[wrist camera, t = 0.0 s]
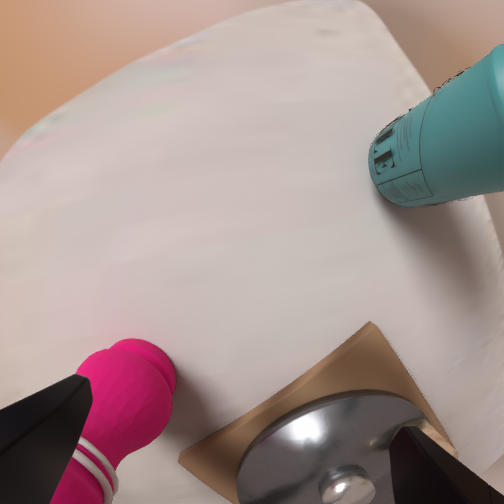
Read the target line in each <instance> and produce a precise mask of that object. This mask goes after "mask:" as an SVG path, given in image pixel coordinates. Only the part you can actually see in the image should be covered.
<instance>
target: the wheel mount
mask: <svg viewBox="0 0 504 504" xmlns="http://www.w3.org/2000/svg"><path fill="white" fill-rule="evenodd" d="M361 389H375V390H383V391H389V392H392V393H396V394H399V395H401V396H403V397H405V398H407V399H408V400H410V401H411V402H412V403H413V404H415V405H416V406H417V407H418V408H419V409H420V410H421V411H422V412H423V413H424V415H425V416H426V417H427V418H428V419H429V421H430V423H431V425H432V427H433V428H434V429H435V430H436V431H437V432H438V433H439V434H440V435H441V436H442V437H443V438H444V439H445V440H446V441H447V442H448V443H449V444H450V445H451V446H452V447H453V448H454V449H455V447H454V446H453V444H452V442H451V441H450V439H449V437H448V435H447V434H446V432H445V430H444V429H443V427H442V425H441V424H440V422H439V421H438V419H437V417H436V416H435V414H434V412H433V411H432V409H431V408H430V406H429V404H428V403H427V401H426V400H425V398H424V396H423V395H422V393H421V392H420V390H419V389H418V387H417V385H416V384H415V382H414V381H413V379H412V378H411V376H410V375H409V373H408V372H407V370H406V368H405V367H404V365H403V364H402V362H401V361H400V359H399V358H398V356H397V355H396V353H395V352H394V350H393V349H392V348H391V346H390V345H389V343H388V342H387V340H386V339H385V337H384V336H383V334H382V333H381V331H380V330H379V329H378V327H377V326H376V325H374V324H373V323H372V322H370V321H369V322H368V323H367V324H366V325H364V326H363V327H362V328H361V329H360V330H358V331H357V332H356V333H355V334H354V335H353V336H351V337H350V338H349V339H348V340H347V341H345V342H344V343H343V344H342V345H340V346H339V347H338V348H337V349H335V350H334V351H333V352H332V353H330V354H329V355H328V356H327V357H325V358H324V359H323V360H321V361H320V362H319V363H318V364H316V365H315V366H314V367H312V368H311V369H310V370H308V371H307V372H306V373H304V374H303V375H302V376H300V377H299V378H297V379H296V380H295V381H293V382H292V383H291V384H289V385H288V386H286V387H285V388H284V389H282V390H281V391H279V392H278V393H276V394H275V395H273V396H272V397H271V398H269V399H268V400H266V401H265V402H263V403H262V404H260V405H259V406H257V407H256V408H254V409H253V410H251V411H249V412H248V413H246V414H245V415H243V416H242V417H240V418H239V419H237V420H235V421H234V422H232V423H230V424H229V425H227V426H226V427H224V428H222V429H221V430H219V431H217V432H216V433H214V434H212V435H210V436H209V437H207V438H205V439H204V440H202V441H200V442H198V443H196V444H195V445H193V446H191V447H189V448H187V449H186V450H184V451H182V452H180V456H179V459H178V463H179V464H181V465H182V466H183V467H184V468H186V469H187V470H188V471H189V472H191V473H192V474H193V475H194V476H196V477H197V478H198V479H199V480H201V481H202V482H203V483H205V484H206V485H207V486H209V487H210V488H212V489H213V490H214V491H216V492H217V493H218V494H220V495H221V496H223V497H224V498H226V499H227V500H229V501H230V502H231V503H233V504H240V503H239V500H238V496H237V471H238V466H239V462H240V460H241V458H242V456H243V453H244V452H245V450H246V449H247V447H248V446H249V444H250V443H251V442H252V441H253V440H254V438H255V437H256V436H257V435H258V434H259V433H260V432H261V431H262V430H263V429H265V428H266V427H267V426H268V425H269V424H271V423H272V422H273V421H275V420H276V419H278V418H279V417H280V416H282V415H284V414H286V413H287V412H289V411H291V410H292V409H294V408H297V407H299V406H301V405H303V404H305V403H307V402H310V401H312V400H315V399H318V398H320V397H324V396H327V395H331V394H334V393H339V392H344V391H350V390H361Z"/></svg>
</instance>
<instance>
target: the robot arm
mask: <svg viewBox="0 0 504 504" xmlns="http://www.w3.org/2000/svg"><path fill="white" fill-rule="evenodd" d="M92 403H93V395H92V389H91V382H90V379H89V378H88V377H85V376H83V375H80V374H73V375H71V376H69V377H67V378H65V379H63V380H61V381H59V382H57V383H55V384H53V385H51V386H49V387H47V388H45V389H43V390H41V391H39V392H36V393H34V394H32V395H30V396H28V397H26V398H24V399H22V400H20V401H18V402H15V403H13V404H11V405H9V406H7V407H5V408H3V409H1V410H0V504H50V502H51V500H52V497H53V495H54V493H55V491H56V489H57V487H58V484H59V482H60V480H61V478H62V476H63V474H64V472H65V470H66V468H67V466H68V464H69V462H70V460H71V458H72V456H73V454H74V451H75V449H76V447H77V445H78V442H79V439H80V436H81V434H82V431H83V428H84V425H85V423H86V420H87V417H88V414H89V412H90V409H91V407H92ZM389 456H390V466H391V479H392V489H393V496H394V501H395V504H504V496H503V495H502V494H501V493H499V492H498V491H496V490H495V489H494V488H493V487H491V486H490V485H488V483H486V482H485V481H484V480H482V479H481V478H480V477H479V476H477V475H476V474H475V473H474V472H472V471H471V470H470V469H468V468H467V467H466V466H465V465H463V464H462V463H461V462H460V461H458V460H457V459H456V458H455V457H453V456H452V455H451V454H450V453H448V452H447V451H446V450H445V449H444V448H442V447H441V446H440V445H439V444H437V443H436V442H435V441H434V440H432V439H431V438H430V437H429V436H428V435H426V434H425V433H424V432H423V431H421V430H420V429H419V428H418V427H417V426H415V425H404V426H402V427H401V428H400V429H399V431H398V432H397V434H396V435H395V436H394V438H393V439H392V441H391V442H390V445H389Z"/></svg>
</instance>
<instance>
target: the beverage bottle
mask: <svg viewBox="0 0 504 504" xmlns="http://www.w3.org/2000/svg"><path fill="white" fill-rule="evenodd" d="M463 72H464V71H463ZM463 72H461V73H459V74H460V75H459V74H458V75H456V76H457V77H456V78H454V79H453V80H451V81H450V82H449V81H448V82H449V83H447V84H446V85H444V86H443V87H442V88H440V87H438V88H440V89H438V91H436V92H435V93H434V92H433V94H432V95H431V96H430V97H428V98H427V99H426V100H424V101H423V102H421V103H420V104H419V105H417V106H416V107H415V108H413V109H412V108H411V109H412V110H411V109H409V112H408V113H407V114H405V115H403V116H401V117H400V116H399V117H400V118H398V117H397V118H398V119H399V120H398V119H397V118H396V119H395V120H393V122H395V121H396V120H397V121H396V122H395V123H393V122H391V123H392V125H391V126H390V124H391V123H390V124H388V125H387V127H388V126H389V127H388V128H387V127H385V128H384V129H383V130H382V131H381V132H380V133H379V135H378V136H377V137H375V138H376V139H375V140H374V142H373V144H372V143H371V144H372V146H370V147H371V149H370V150H369V152H370V153H369V171H370V175H371V178H372V180H373V182H374V184H375V186H376V187H377V189H378V190H379V192H380V193H381V194H382V195H383V196H384V197H385V198H387V199H388V200H389V201H390V202H393V204H394V203H395V204H397V205H400V206H404V207H416V206H422V205H427V207H428V204H430V205H431V204H433V205H434V203H439V204H440V202H445V201H446V202H445V203H447V201H451V200H454V201H455V200H457V199H459V201H460V199H461V198H462V199H463V198H465V199H466V197H467V198H468V197H470V196H474V197H475V196H477V195H482V194H489V193H495V192H502V191H504V44H500V45H498V46H496V47H495V48H494V49H493V50H492V51H491V52H490V54H488V55H487V56H485V57H484V58H483V59H481V60H480V61H479V62H477V63H476V64H475V65H473V66H472V67H469V69H468V70H466V71H465V72H464V73H463ZM386 128H387V129H386ZM472 198H473V197H472ZM470 199H471V198H470ZM467 200H468V199H467ZM457 201H458V200H457ZM464 201H465V200H464ZM451 202H453V201H451ZM445 203H444V204H445ZM454 203H455V202H454ZM441 204H442V203H441ZM448 204H449V203H448ZM433 205H432V206H433ZM435 206H436V205H435Z"/></svg>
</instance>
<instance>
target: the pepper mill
mask: <svg viewBox="0 0 504 504" xmlns="http://www.w3.org/2000/svg"><path fill="white" fill-rule="evenodd" d="M76 374H80V375H83V376H85V377H88V378H89V379H90V382H91V389H92V395H93V403H92V407H91V409H90V412H89V414H88V417H87V420H86V423H85V425H84V428H83V431H82V434H81V436H80V439H79V442H78V445H77V447H76V449H75V451H74V454H73V456H72V458H71V460H70V462H69V464H68V466H67V468H66V470H65V472H64V474H63V476H62V478H61V480H60V482H59V484H58V487H57V489H56V491H55V493H54V495H53V497H52V500H51V502H50V504H111V503H112V500H113V496H114V495H115V494H116V492H117V490H118V478H117V475H116V472H115V471H116V468H117V466H118V465H119V463H120V462H121V460H122V459H123V458H124V457H126V456H127V455H128V454H130V453H132V452H134V451H136V450H138V449H140V448H143V447H144V446H146V445H148V444H149V443H151V442H152V441H153V440H154V439H155V438H157V437H158V436H159V435H160V434H161V432H162V431H163V430H164V428H165V427H166V425H167V423H168V422H169V419H170V417H171V413H172V395H173V393H174V390H175V387H176V374H175V370H174V367H173V365H172V363H171V361H170V360H169V358H168V357H167V356H166V354H165V353H164V352H163V351H162V350H160V349H159V348H158V347H156V346H155V345H153V344H151V343H149V342H147V341H144V340H141V339H124V340H121V341H119V342H117V343H115V344H114V345H113V346H112V347H111V348H109V349H104V350H101V351H98V352H96V353H94V354H92V355H90V356H89V357H88V358H87V359H86V360H85V361H84V362H83V363H82V364H81V366H80V367H79V368H78V370H77V372H76Z"/></svg>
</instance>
